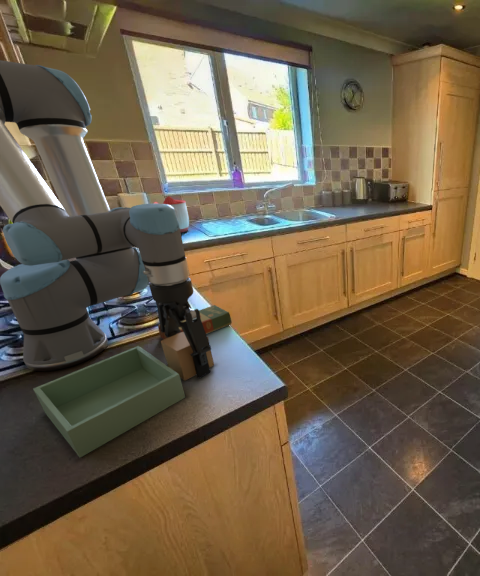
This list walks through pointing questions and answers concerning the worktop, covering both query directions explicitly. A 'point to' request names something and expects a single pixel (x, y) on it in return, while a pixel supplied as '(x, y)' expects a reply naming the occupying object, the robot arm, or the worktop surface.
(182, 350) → the box
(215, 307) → the carton
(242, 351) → the worktop surface
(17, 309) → the robot arm
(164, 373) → the basket
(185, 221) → the citrus juicer
